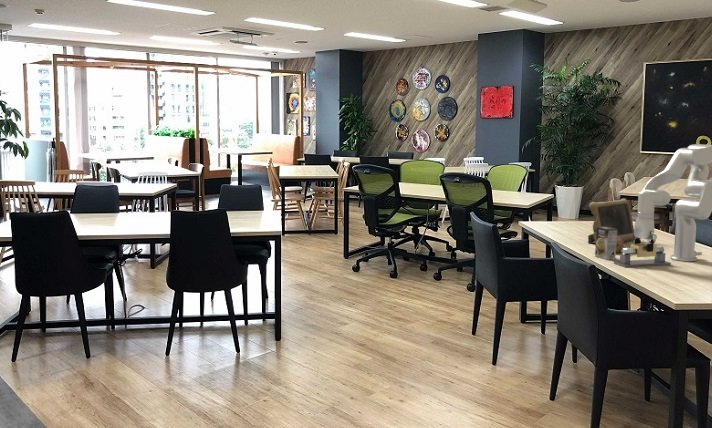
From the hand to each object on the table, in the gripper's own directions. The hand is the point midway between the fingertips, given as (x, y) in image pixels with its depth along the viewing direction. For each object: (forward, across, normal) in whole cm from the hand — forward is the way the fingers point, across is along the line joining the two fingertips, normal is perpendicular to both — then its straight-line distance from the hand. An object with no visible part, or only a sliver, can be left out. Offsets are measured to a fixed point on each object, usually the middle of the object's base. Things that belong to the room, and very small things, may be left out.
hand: (643, 249), depth 330 cm
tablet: (+8, -57, +20) cm, 61 cm away
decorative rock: (+8, -32, +5) cm, 33 cm away
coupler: (+3, 0, 0) cm, 3 cm away
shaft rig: (+7, 0, 0) cm, 8 cm away
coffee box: (+8, -18, -9) cm, 22 cm away
